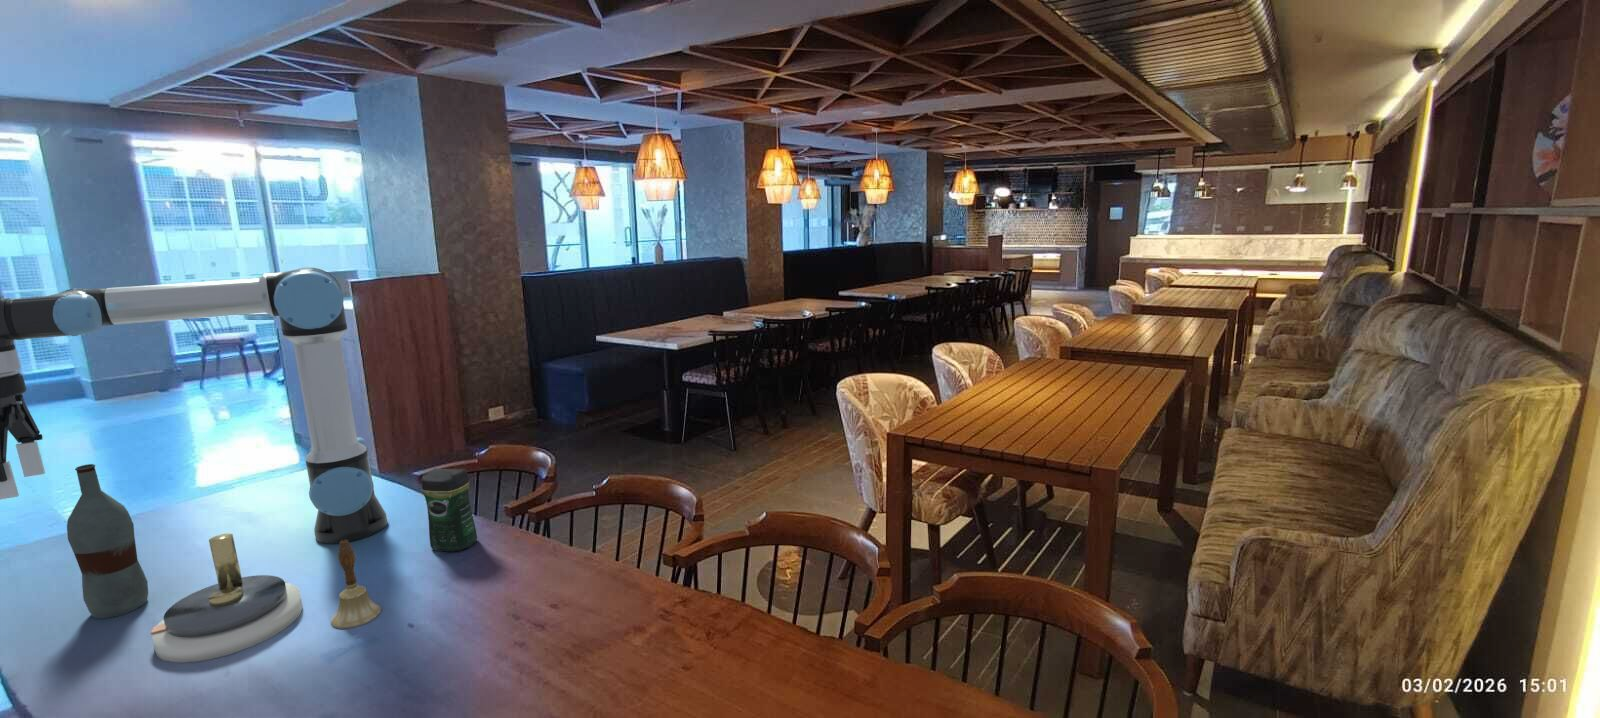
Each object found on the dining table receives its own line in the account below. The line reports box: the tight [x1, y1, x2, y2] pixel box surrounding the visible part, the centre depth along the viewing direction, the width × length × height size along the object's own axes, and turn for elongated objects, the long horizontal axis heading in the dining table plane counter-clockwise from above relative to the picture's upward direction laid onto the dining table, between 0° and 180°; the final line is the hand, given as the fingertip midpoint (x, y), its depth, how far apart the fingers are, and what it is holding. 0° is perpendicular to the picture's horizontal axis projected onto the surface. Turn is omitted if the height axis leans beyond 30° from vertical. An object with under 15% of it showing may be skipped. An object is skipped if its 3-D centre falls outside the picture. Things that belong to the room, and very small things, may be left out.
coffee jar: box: [421, 468, 478, 552], centre depth 164 cm, size 10×8×19 cm
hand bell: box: [330, 539, 382, 630], centre depth 136 cm, size 8×8×16 cm
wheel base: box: [150, 582, 303, 664], centre depth 135 cm, size 22×22×4 cm
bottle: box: [66, 463, 149, 620], centre depth 140 cm, size 9×9×30 cm
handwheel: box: [163, 532, 287, 637], centre depth 133 cm, size 18×18×12 cm
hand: (21, 486), depth 133 cm, fingers open, 13 cm apart
